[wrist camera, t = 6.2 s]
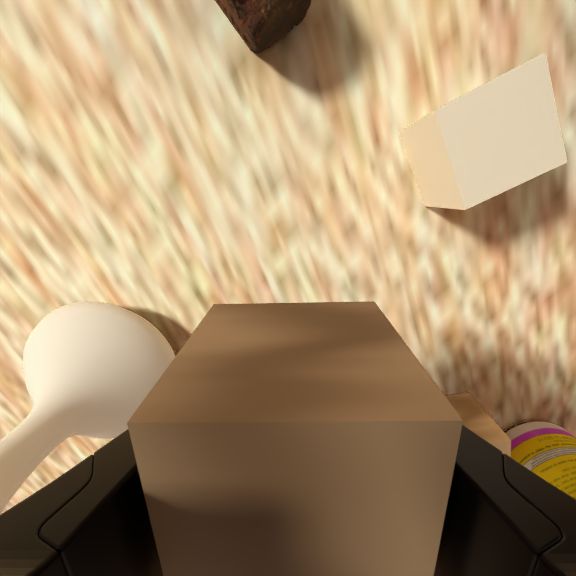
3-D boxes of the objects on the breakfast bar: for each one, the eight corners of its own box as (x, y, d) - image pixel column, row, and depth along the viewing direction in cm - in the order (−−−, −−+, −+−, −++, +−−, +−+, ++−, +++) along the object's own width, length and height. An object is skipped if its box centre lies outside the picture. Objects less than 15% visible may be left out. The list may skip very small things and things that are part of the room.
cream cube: (477, 90, 18) (545, 51, 13) (498, 170, 19) (567, 162, 14) (398, 132, 18) (434, 110, 14) (423, 206, 20) (465, 210, 15)
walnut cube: (374, 301, 9) (463, 420, 4) (365, 431, 11) (424, 625, 6) (214, 304, 9) (127, 423, 4) (227, 432, 11) (174, 623, 6)
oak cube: (468, 391, 24) (511, 440, 19) (469, 439, 25) (509, 495, 21) (406, 400, 24) (433, 450, 20) (410, 447, 26) (437, 504, 21)
